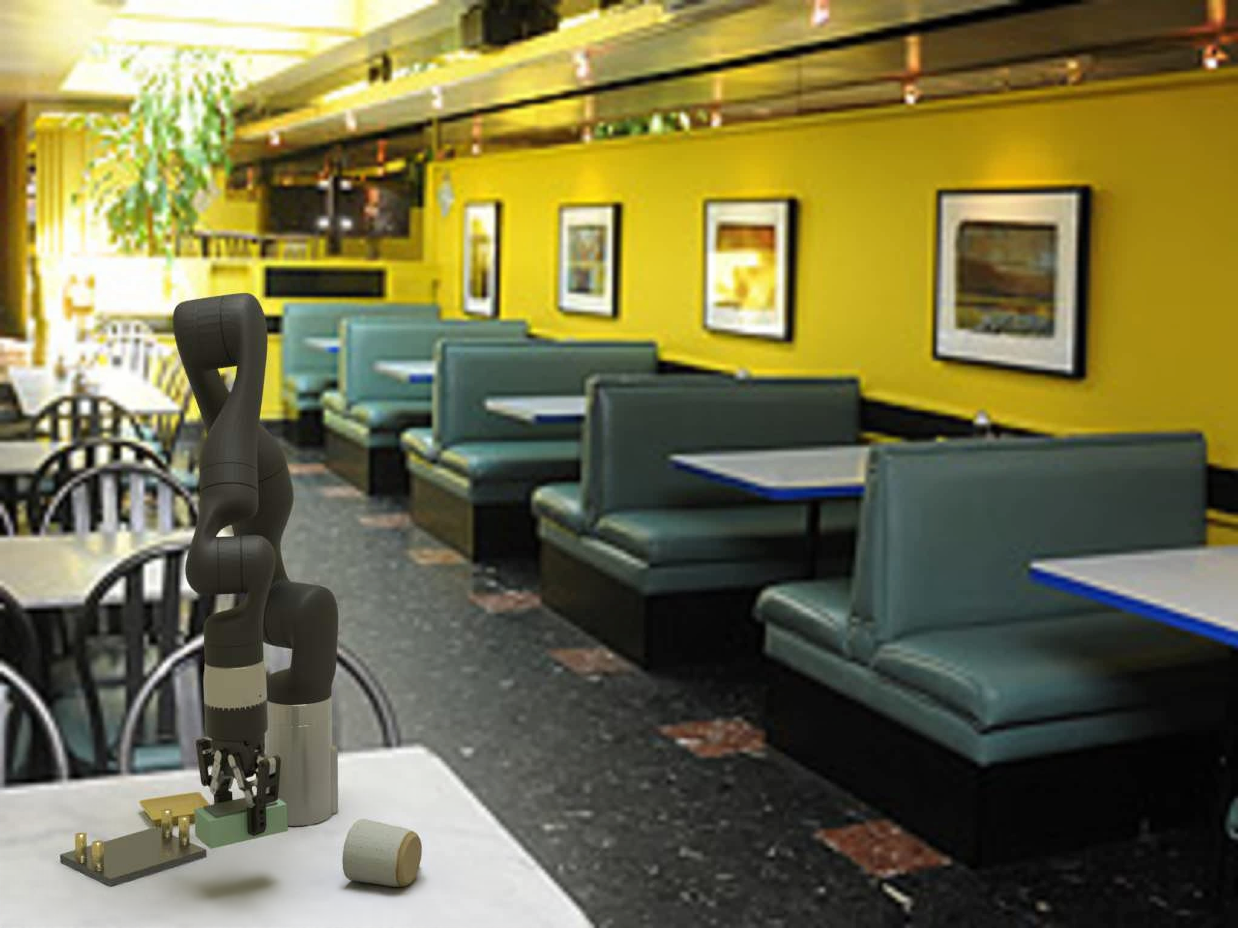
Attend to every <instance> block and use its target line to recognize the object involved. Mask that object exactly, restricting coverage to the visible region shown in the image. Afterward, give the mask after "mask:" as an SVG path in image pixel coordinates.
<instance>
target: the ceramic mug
mask: <svg viewBox="0 0 1238 928" xmlns="http://www.w3.org/2000/svg"><path fill="white" fill-rule="evenodd" d="M422 847H423V845H422V841H421V838H420V836H419V835H418V833H416V832H415V831H413V830H411V829H408V828H406V827H402V826H396V825H393V824H388V823H387V824H386V823H383V822H379V821H375V820H370V819H366V818H360V819H358V820H356V821H355V822H354V823H353V824H352V825H351V827H350V828H349V830H348V832H347V834H346V837H345V841H344V844H343V851H342V871H343V874H344V876H345V878H346V879H347V880H349V881H353V882H361V883H366V884H374V885H381V886H385V887H393V888H394V887H395V888H397V887H398V888H399V887H400V888H401V887H407V886H408V885H410V884H411V883H412V881H413V880H414V879H415V877H417V874H418V871H419V868H420V866H421V865H420V864H421V861H422V853H423V852H422V851H423V849H422Z"/></svg>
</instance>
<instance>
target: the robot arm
mask: <svg viewBox="0 0 1238 928" xmlns="http://www.w3.org/2000/svg"><path fill="white" fill-rule="evenodd" d="M262 307H263V306H262V305H261V302H260V301H259V300H258V298H257V297H256V296H255V295H253V294H252V293H249V292H238V293H237V292H236V293H229V294H223V295H221V294H220V295H214V296H208V297H202V298H196V299H190V300H189V299H188V300H184V301H181V302H179V303H177V305H176V306H175V308H174V310H173V315H172V328H173V329H172V330H173V336H174V340H175V343H176V347H177V348H176V349H177V351H178V354H179V357H180V360H181V363H182V366H183V369H184V371H185V374H186V377H187V381H188V383H189V385H190V388H191V391H192V393H193V396H194V400H195V402H196V405H197V408H198V410H199V412H200V417H201V420H202V422H203V425H204V429H205V430H204V431H205V432H206V436H205V439H204V441H203V444H202V447H201V449H200V453H199V454H200V456H199V464H198V465H199V466H198V467H199V468H198V470H199V472H198V473H199V476H198V477H199V506H198V507H199V508H198V515H197V520H196V525H195V528H194V532H193V537H192V539H191V542H190V546H189V549H188V553H187V556H186V561H185V565H184V574H185V579H186V581H187V584H188V585H189V587H190V589H192V590H193V592H195V593H196V594H197V595H201V596H219V595H239V594H242V595H243V594H244V595H245V599H244V600H243V601H242V602H241V603H240V604H239V605H237V606H235V607H232V608H229V609H228V608H227V609H225V610H222V611H221V610H220V611H217V612H215V613H212V614H211V615H209V616H207V617H206V619H205V621H204V623H203V651H204V671H203V707H204V730H205V732H204V733H205V735H206V736H205V737H202V738H199V739H196V740H195V747H196V754H197V762H198V769H199V771H198V772H199V778H200V783H201V785H202V787H208V788H209V791H210V793H211V794H212V795H213V804H217V803H221V802H226V801H231V800H234V799H233V791H231V789H232V787H233V784H234V779H235V780H236V784H237V786H238V790H240V791H241V792H243V795H244V797H245V798H246V802H247V805H248V807H247V826H248V834H249V835H252V836H256V835H259V834H261V833H264V832H265V829H266V826H267V825H266V804H268V803H271V802H274V801H277V800H278V798H279V799H280V800H281V801H283V802H284V803H286V804H287V827H288V826H290V827H291V826H293V827H297V826H300V827H301V826H309V825H314V824H318V823H321V822H325V821H326V820H328V819H329V818H331V817H332V815H333V814H335V813H339V766H338V765H339V750H338V747H337V746H336V745H333V719H332V718H333V716H332V715H333V712H332V709H333V705H332V700H333V699H332V697H333V696H332V691H333V690H332V689H333V687H332V686H333V683H334V679H335V675H336V672H337V671H336V670H337V663H338V662H337V656H338V637H339V609H338V603H337V600H336V597H335V595H334V593H333V592H332V591H331V590H330V588H327V587H326V586H322V585H317V584H311V583H305V582H297V581H296V582H295V581H291V580H290V579H289V577H288V574H287V572H286V570H285V569H286V568H285V565H284V561H283V557H282V556H283V555H282V550H281V549H282V548H281V544H282V538H283V535H284V532H285V528H286V527H287V525H288V521H289V518H290V516H291V513H292V509H293V504H294V497H295V495H294V487H293V481H292V478H291V473H290V470H289V467H288V466H289V465H288V462H287V459H286V456H285V452H284V450H283V448H282V446H281V445H280V443H279V442H278V440H277V439H276V438H275V437H274V436H273V434H271V433H270V432H269V431H268V429H266V428H265V427H264V426H263V425H262V424H261V423H260V419H261V411H262V404H263V395H264V388H265V387H264V386H265V376H266V369H267V359H268V326H267V320H266V315H265V312H264V309H263V308H262ZM233 367H236V371H235V377H234V381H233V385H232V387H231V391H230V390H229V389H228V386H227V385H226V383H225V382H224V379H223V378H222V376H221V372H220V371H219V369H226V368H233ZM229 526H231V530H232V532H233V533H232V534H233V536H231V535H229V536H227V535H226V536H224V535H223V536H218V535H219V533H220V532H221V531H222V530H223V529H225V528H227V527H229ZM264 644H266V645H269V646H271V647H277V648H282V649H289V650H291V660H290V665H289V668H285V669H281V670H278V671H274V672H273V673H270V674H269V675H268V676H267V673H266V668H265V660H264V659H265V658H264ZM263 737H264V746H263V741H262V739H263ZM209 766H212V767H211V771H210V772H209ZM254 775H255V779H252V780H247V779H248V778H251V777H254ZM254 787H255V788H256V794H254V791H253V790H254V789H253V788H254ZM254 795H256V796H254Z"/></svg>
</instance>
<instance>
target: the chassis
mask: <svg viewBox="0 0 1238 928" xmlns="http://www.w3.org/2000/svg"><path fill="white" fill-rule="evenodd" d="M161 821H162V827H161V829H160V828H159V827H157V826H154V827H150V828H148V829H144V830H140V831H137V832H133V833H130V834H126V835H122V836H119V837H116V838H113V839H109V840H105V841H104V840H100V839H98V840H97V839H96V840H93V841H92V842H91V845H88V841H87V839H88V838H87V832H77V833H75V834H74V845H75V846H74V847H75V848H74V850H73V849H72V850H71V851H67V852H63V853H60V854H59V859H60V860H59V861H60V863H62V864H64V865H65V866H68V867H69V868H72V869H74V870H76V871H78V872H80V873H82V874H84V875H86V876H88V877H90V878H93V879H94V880H96V881H98V882H100V883H103V884H105V885H106V886H109V887H114V886H117V885H120V884H121V885H122V884H123V883H127V882H130V881H134V880H136V879H140V878H144V877H147V876H149V875H152V874H156V873H159V872H162V871H165V870H169V869H171V868H174V867H178V866H181V865H184V864H188V863H191V862H194V861H198V860H201V859H203V858H207V850H208V849H206V848H205V847H202V846H199V845H197V844H195V843H193V842H191V840H190V839H191V835H190V834H191V831H190V824H191V823H189V816H180V817H179V818H178V823H179V825H178V836H177V835H174V833H173V826H174V825H173V826H172V809H163V810H161ZM87 845H88V846H87Z"/></svg>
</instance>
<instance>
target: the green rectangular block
mask: <svg viewBox="0 0 1238 928" xmlns="http://www.w3.org/2000/svg"><path fill="white" fill-rule="evenodd" d="M254 796H256V794H254ZM247 807H248V805H247V802H246V798H245V796H244V797H240V798H236V799H233V800H231V801H226V802H221V803H217V804H214V803H213V804H210V805H208V806H203V807H202V808H197V809H194V815H195V822H194V834H195V837H196V838H197V840H199V841H200V842H201V843H202V844H204V845H205V846H206V847H207V848H209V849H210V850H214V849H216V848H217V849H218V848H220V847H225V846H230V845H233V844H238V843H243V842H247V841H250V840H251V841H252V840H256V839H259V838H264V837H268V836H272V835H277V834H281V833H286V832H288V830H289V829H288V825H287V804H286V803H284V802H283V801H281V800H280V799H279V798H278V800H277V801H274V802H271V803H268V804H266V825H267V826H266V829H265V832H264V833H261V834H259V835H256V836H252V835H249V834H248V826H247Z"/></svg>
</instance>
